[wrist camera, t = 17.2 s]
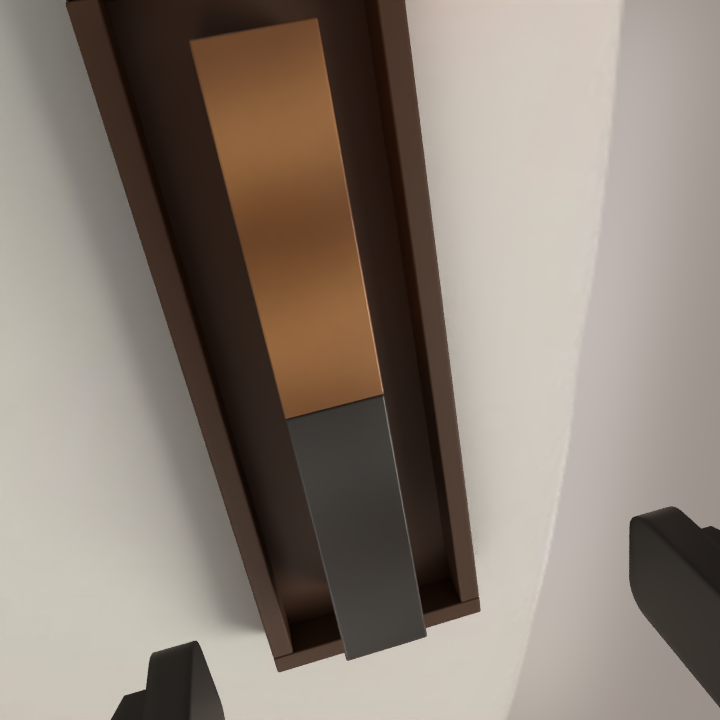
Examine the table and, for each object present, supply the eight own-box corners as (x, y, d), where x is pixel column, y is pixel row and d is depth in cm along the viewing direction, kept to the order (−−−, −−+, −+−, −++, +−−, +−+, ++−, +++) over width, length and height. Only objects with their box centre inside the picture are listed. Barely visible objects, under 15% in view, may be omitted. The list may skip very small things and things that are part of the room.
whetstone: (398, 563, 27) (427, 637, 23) (328, 583, 26) (346, 662, 23) (297, 30, 18) (317, 16, 15) (192, 49, 18) (188, 39, 14)
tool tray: (464, 578, 28) (481, 611, 27) (273, 635, 27) (278, 673, 26) (376, -73, 18) (394, -92, 17) (69, -24, 17) (51, -37, 15)
